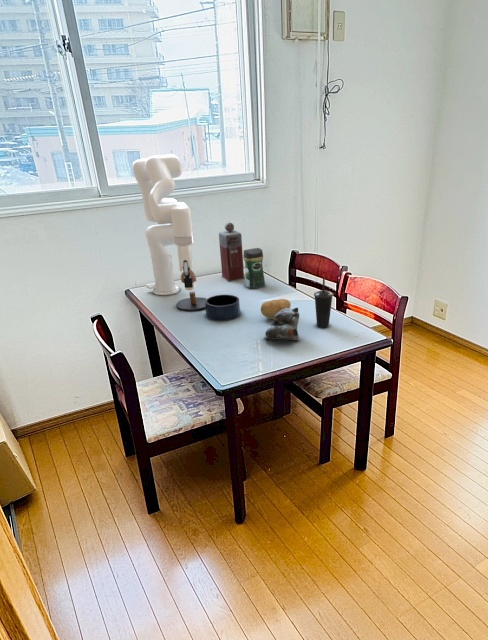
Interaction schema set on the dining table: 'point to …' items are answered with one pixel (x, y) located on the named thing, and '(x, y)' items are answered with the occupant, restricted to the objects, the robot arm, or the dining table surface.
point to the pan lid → (191, 303)
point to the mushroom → (192, 279)
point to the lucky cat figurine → (284, 325)
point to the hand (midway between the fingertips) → (189, 284)
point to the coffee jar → (254, 268)
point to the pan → (222, 307)
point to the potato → (274, 307)
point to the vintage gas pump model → (231, 253)
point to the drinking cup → (323, 306)
